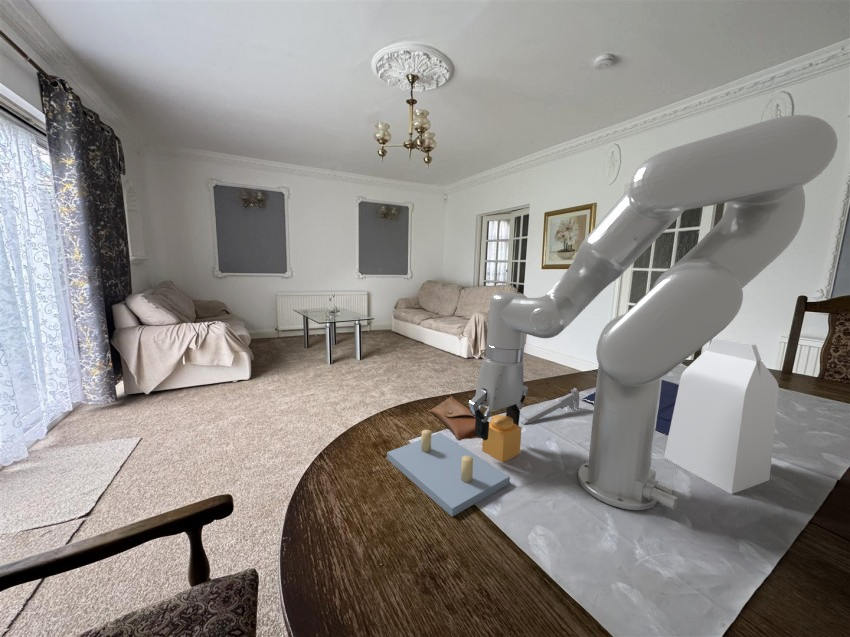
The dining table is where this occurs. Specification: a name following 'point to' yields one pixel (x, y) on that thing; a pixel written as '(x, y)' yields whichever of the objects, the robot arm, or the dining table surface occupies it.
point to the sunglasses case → (456, 418)
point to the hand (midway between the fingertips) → (497, 430)
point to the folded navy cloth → (661, 405)
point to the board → (447, 472)
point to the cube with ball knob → (502, 438)
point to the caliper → (556, 406)
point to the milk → (725, 417)
